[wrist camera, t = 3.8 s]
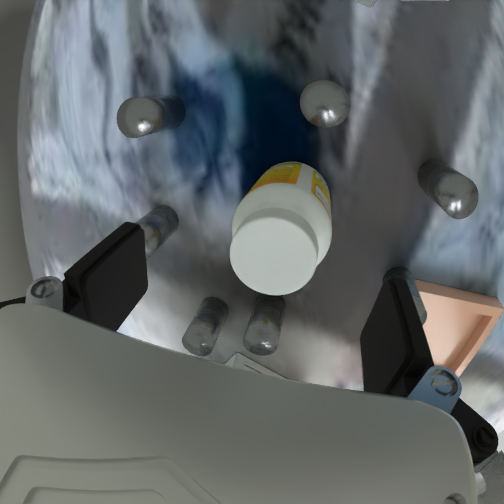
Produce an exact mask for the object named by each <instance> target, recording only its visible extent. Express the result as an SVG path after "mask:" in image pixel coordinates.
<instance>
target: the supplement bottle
mask: <svg viewBox="0 0 504 504" xmlns="http://www.w3.org/2000/svg"><path fill="white" fill-rule="evenodd" d="M331 237H332V222H331V208H330V195H329V190H328V187H327V184H326V182H325V180H324V179H323V177H322V176H321V175H320V174H319V173H318V172H317V171H316V170H315V169H313V168H312V167H310V166H308V165H306V164H303V163H299V162H285V163H280V164H277V165H275V166H273V167H271V168H270V169H268V170H267V171H266V172H265V173H264V174H263V175H262V176H261V177H260V179H259V180H258V181H257V182H256V184H255V185H254V186H253V187H252V189H251V190H250V191H249V192H248V193H247V195H246V196H245V197H244V198H243V200H242V201H241V202H240V204H239V205H238V207H237V209H236V211H235V213H234V216H233V220H232V238H233V239H232V241H231V245H230V261H231V265H232V267H233V270H234V271H235V273H236V275H237V276H238V277H239V279H240V280H241V281H242V282H243V283H244V284H246V285H247V286H248V287H250V288H251V289H253V290H255V291H258V292H260V293H264V294H268V295H285V294H289V293H292V292H295V291H297V290H299V289H300V288H302V287H303V286H304V285H305V284H306V283H307V282H308V281H309V280H310V279H311V277H312V276H313V274H314V272H315V269H316V266H317V265H318V264H319V263H320V262H321V261H322V260H323V258H324V257H325V255H326V253H327V251H328V249H329V246H330V243H331Z"/></svg>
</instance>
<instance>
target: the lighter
mask: <svg viewBox="0 0 504 504" xmlns="http://www.w3.org/2000/svg"><path fill="white" fill-rule="evenodd" d="M354 1H356V2H359V3H361V4H363V5H365V6H367V7H369V8H370V7H373V6H374V4H375V2H376V0H354ZM401 1H449V0H401Z"/></svg>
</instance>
